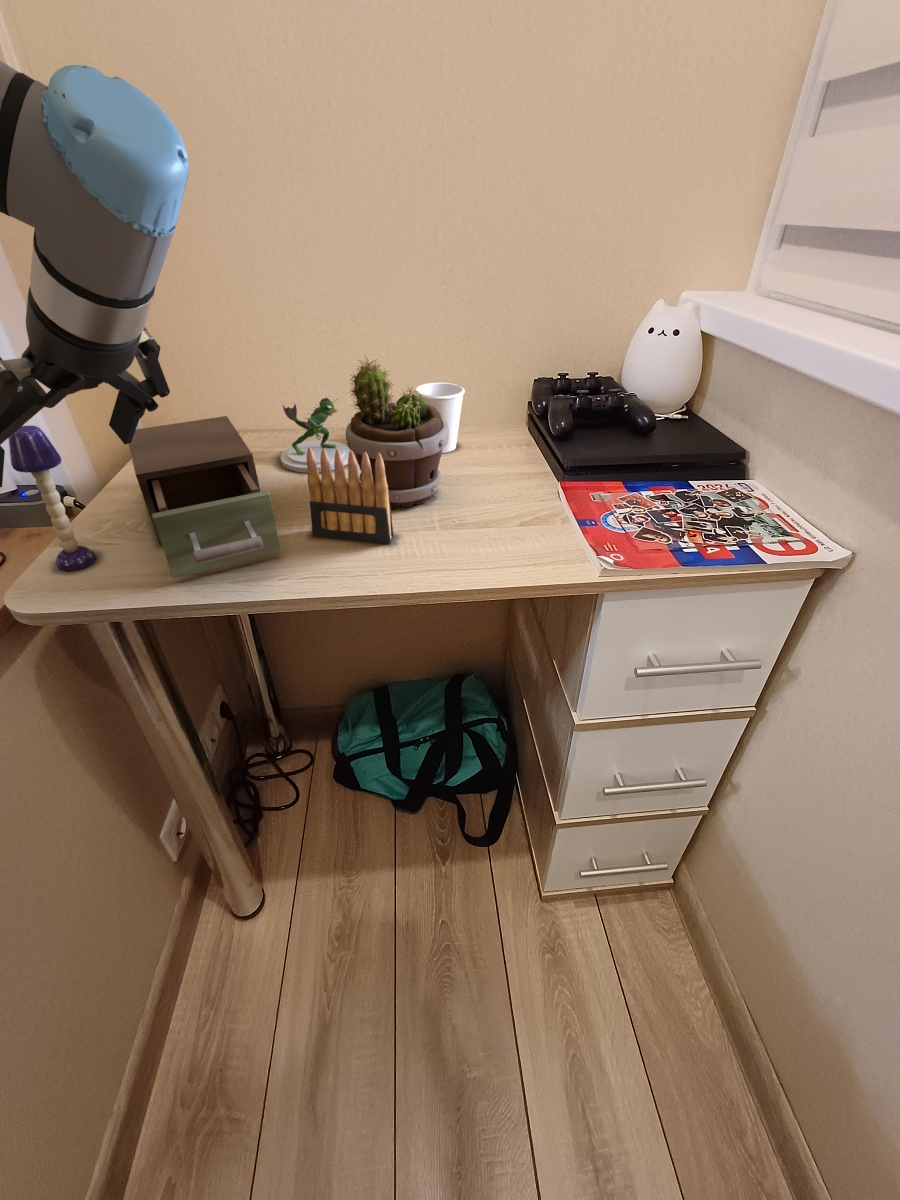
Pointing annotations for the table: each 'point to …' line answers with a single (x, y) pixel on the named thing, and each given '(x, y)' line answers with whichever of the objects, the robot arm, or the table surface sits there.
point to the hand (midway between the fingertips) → (59, 453)
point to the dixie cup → (445, 406)
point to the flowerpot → (397, 437)
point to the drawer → (213, 519)
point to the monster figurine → (297, 453)
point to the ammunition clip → (349, 500)
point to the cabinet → (186, 452)
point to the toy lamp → (48, 491)
